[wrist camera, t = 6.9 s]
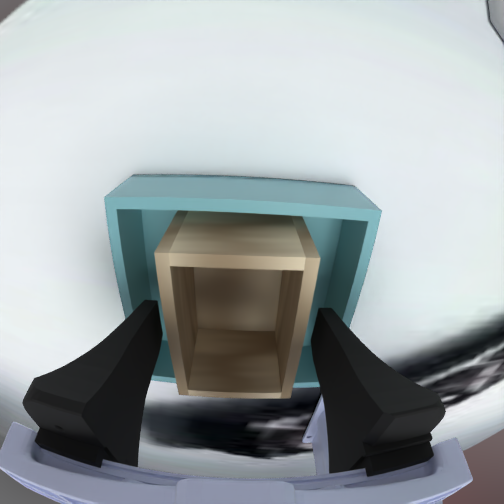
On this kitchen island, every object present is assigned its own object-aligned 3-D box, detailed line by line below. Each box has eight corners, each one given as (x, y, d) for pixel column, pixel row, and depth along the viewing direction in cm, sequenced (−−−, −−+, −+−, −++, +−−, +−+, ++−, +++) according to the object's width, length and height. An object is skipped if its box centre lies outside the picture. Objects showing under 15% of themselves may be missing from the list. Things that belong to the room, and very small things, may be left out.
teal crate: (317, 346, 20) (327, 386, 16) (154, 339, 19) (142, 378, 16) (354, 185, 14) (381, 210, 11) (133, 174, 14) (104, 197, 11)
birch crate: (297, 206, 14) (320, 258, 10) (281, 331, 18) (290, 397, 14) (182, 202, 14) (154, 252, 10) (191, 328, 18) (179, 394, 14)
